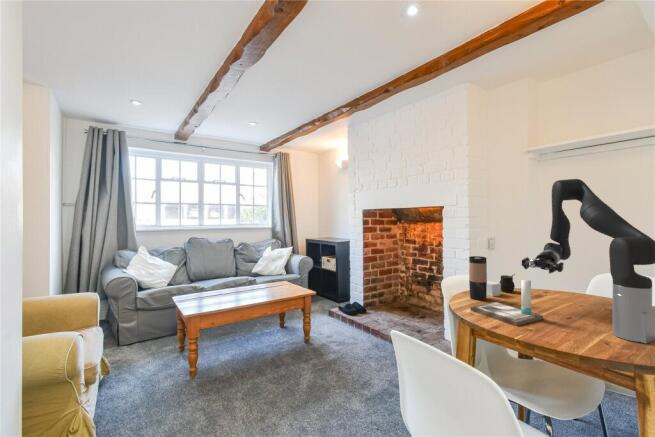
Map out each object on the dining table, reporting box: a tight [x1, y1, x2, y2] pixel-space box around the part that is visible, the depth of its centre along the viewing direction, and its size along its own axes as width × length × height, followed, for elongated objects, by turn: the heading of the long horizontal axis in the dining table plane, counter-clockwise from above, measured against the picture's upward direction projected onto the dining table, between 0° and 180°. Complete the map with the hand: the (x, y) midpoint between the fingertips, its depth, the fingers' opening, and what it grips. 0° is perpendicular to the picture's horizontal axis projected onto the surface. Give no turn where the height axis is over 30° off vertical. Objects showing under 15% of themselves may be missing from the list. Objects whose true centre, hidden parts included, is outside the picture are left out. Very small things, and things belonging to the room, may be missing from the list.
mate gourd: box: [498, 273, 516, 293], centre depth 159 cm, size 7×8×10 cm
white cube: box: [486, 280, 502, 297], centre depth 154 cm, size 6×6×6 cm
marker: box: [520, 279, 532, 315], centre depth 120 cm, size 3×3×13 cm
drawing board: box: [470, 301, 544, 327], centre depth 124 cm, size 20×16×2 cm
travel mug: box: [468, 255, 488, 301], centre depth 147 cm, size 8×8×20 cm
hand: (537, 268), depth 126 cm, fingers open, 8 cm apart
